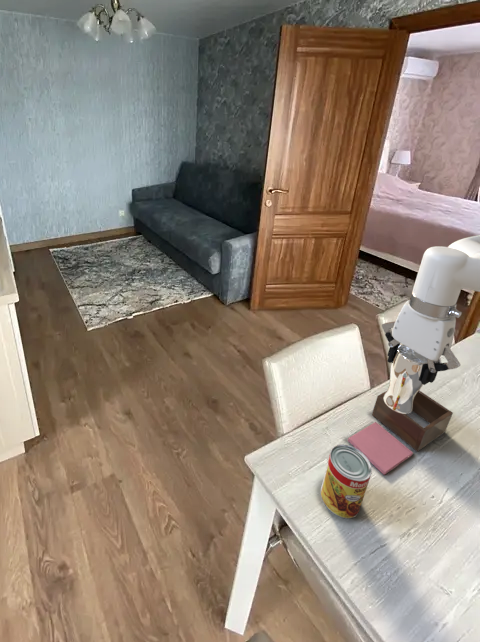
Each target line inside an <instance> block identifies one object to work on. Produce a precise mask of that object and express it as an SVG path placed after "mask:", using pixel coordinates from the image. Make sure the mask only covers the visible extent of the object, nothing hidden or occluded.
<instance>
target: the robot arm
mask: <svg viewBox="0 0 480 642" xmlns="http://www.w3.org/2000/svg"><path fill="white" fill-rule="evenodd" d="M414 281H415V282H414V285H413V287H412V291H411V294H410V298H409V299H408V300H407V301H405V302H404V304H403V306H402V307H401V309H400V311H399V313H398V315H397V317H396V319H395V320H394V321H389V322H388V321H387V322H385V323H382V324H381V328H382V330H383V332H384V336H385V338H386V340H387V342H388V343H387V344H388V347H389V349H388V352H387V356H388V357H387V363H389V364H392V361H393V358H394V356H395V353H396V351H397V349H398V347H399V346H400V345H405V346H407V347H408V348H410V349H412V350H413V351H415V352H417V353H419V354H420V355H422V356H424V357H426V358H427V362H428V367H429V368H427V369H426V370H425V372H424V375H423V378H422V380H421V383H422V384H423V386H425V385H427V384H429V383H430V384H432V383H434V381H435V380H436V378H437V375H438V373H439V372H446V371H449V370H455V369H458V368H459V367H461V362H460V361H459V360H458V358H457V356H456V355H455V353H454V352H453V351H452V349H451V348H452V345H453V341H454V336H455V330H456V323H457V319H459V318H460V317H461V316H462V314H463V312H462V311H460V310H458V309H457V306H458V304H457V302H458V299H459V296H460V294H461V290H470V291H474V292H479V293H480V234H479V235H473V236H468V237H463V238H461V239H458V240H456V241H453V242H452V243H451V244H449V245H448V246H441V245H440V246H438V245H437V246H431V247H428V248H427V249H426V250H425V251H424V253H423V254H422V258H421V263H420V265H419V268H418V272H417V274H416V278H415V280H414ZM456 318H457V319H456ZM442 356H443V357H444V358H445V360H446V361H447V362H442V358H441V357H442Z"/></svg>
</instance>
